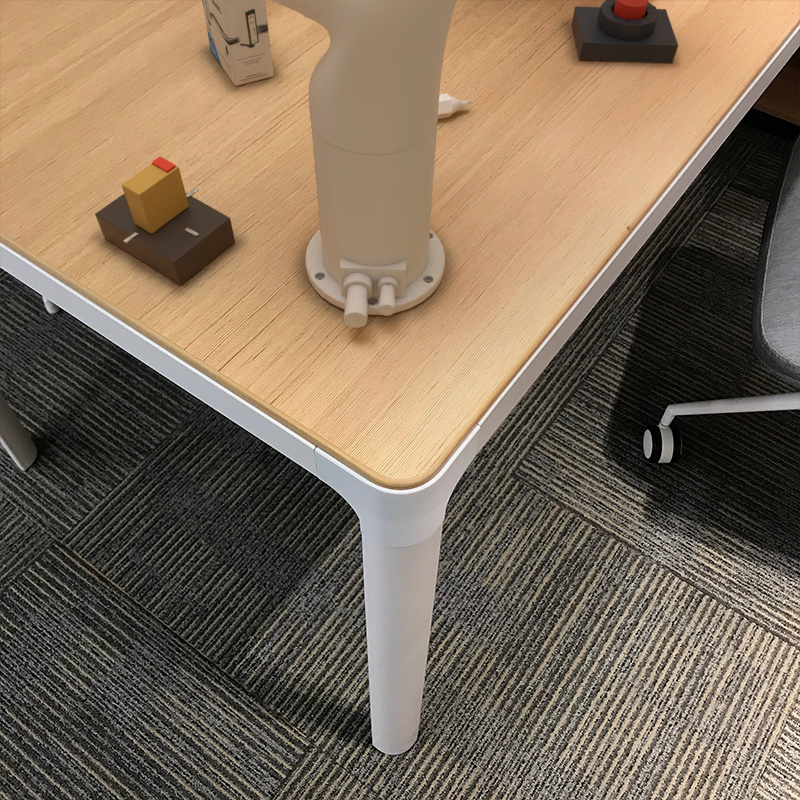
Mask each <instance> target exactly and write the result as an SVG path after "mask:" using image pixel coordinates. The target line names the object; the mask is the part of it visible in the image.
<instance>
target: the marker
mask: <svg viewBox="0 0 800 800" xmlns="http://www.w3.org/2000/svg"><path fill="white" fill-rule="evenodd" d="M472 103H473V101H471V100H470V101H469V100H464V99H459V98H457V97H454V96H451V95H449V93H447V92H446V93H441V94H440V93H439V105H438V120H441V119H447V118H451V116H452V115H453V114H455V113H456V112H458V111H459V110H460V109H464V108H465V107H467V106H469V105H470V104H472Z"/></svg>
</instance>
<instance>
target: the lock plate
mask: <svg viewBox="0 0 800 800" xmlns="http://www.w3.org/2000/svg"><path fill="white" fill-rule="evenodd" d="M199 191H200V190H199V188H197V187H195V188H194V189H192V190H191V191H189V192H188V193H187V192H185V193H186V196H187V200H188V204H189V207H188V208H186V209H185V210H183V211H182V212H181V213H179V214H178V215H177V216H175V217H174V218H173V219H171V220H170V221H169V222H167V223H166V224H165V225H163V226H162V227H161V228H159V229H158V230H157V231H155V232H154V233H152V234H151V233H149V232H148V231H146V230H144V229H143V228H141V227H139V226H138V225H136V224H135V223H134V220H133V217H132V214H131V211H130V208H129V205H128V202H127V199H126V197H125V194H124V193H123V194H121V195H120V196H118V197H116V198H115V199H114V200H113V201H111V202H110V203H108V204H107V205H105V206H104V207H102V208H101V209H100V210H98V211H97V212H95V213H94V215H95V218H96V220H97V223H98V225H99V227H100V231H101V233H102V236H103V238H104V239H105V240H106V241H108V242H109V243H111V244H113V245H114V246H116V247H118V248H119V249H120V250H123V251H124V252H125V253H127V254H129V255H130V256H132V257H134V258H135V259H137V260H138V261H140V262H141V263H143V264H145V265H146V266H148V267H150V268H151V269H153V270H155V272H158V273H159V274H161V275H163V276H164V277H166V278H168V279H169V280H171V281H172V282H174V283H176V284H177V285H178V286H181V287H182V286H183V285H184V284H186V283H187V282H188V281H189V280H191V279H192V278H193V277H194V276H196V275H197V274H198V273H199V272H201V270H204V268H205V267H207V266H208V265H209V264H210V263H211V262H213V261H215V259H217V258H218V257H219V256H220V255H221V254H223V253H224V252H225V251H226V250H228V249H230V247H232V246H233V245H234V244H235V243H236V239H235V235H234V228H233V224H232V220H231V217H230V216H228V215H226V214H224V213H223V212H221V211H219V210H217V209H216V208H213V207H212V206H210V205H208V204H207V203H205V202H203V201H201V200H200V199H198V198H196V197H194V195H195V194H197V193H198V192H199Z"/></svg>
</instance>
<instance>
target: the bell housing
mask: <svg viewBox="0 0 800 800" xmlns="http://www.w3.org/2000/svg"><path fill="white" fill-rule="evenodd" d="M615 2H616V0H604V1H603V3H601V4H600V6H579V5H578V6H575V7H574V12H573V14H572V19H571V27H572V33H573V37H574V42H575V47H576V53H577V57H578V61H584V62H585V61H587V62H588V61H589V62H590V61H591V62H618V63H619V62H621V63H623V62H624V63H653V64H673V62H674V60H675V57H676V54H677V50H678V47H679V43H678V41H677V40H678V39H677V38H676V34H675V31H674V28H673V25H672V23H671V20H670V18H669V17H670V16H669V14H668V11H667V9H666V8H657V7H656V5H654V4H652V3H651V2H650V1H648V5H647V8H646V12H645V15H644V18H642V19H639V20H627V19H623V18H620V17H618V16H616V15H615V14H614V13H613V10H614V6H615Z"/></svg>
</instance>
